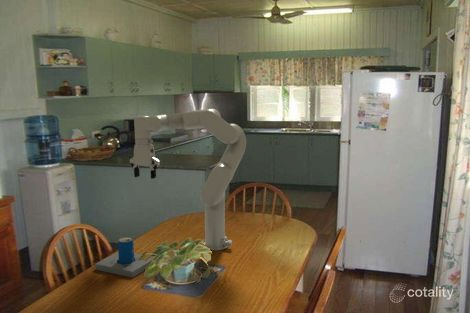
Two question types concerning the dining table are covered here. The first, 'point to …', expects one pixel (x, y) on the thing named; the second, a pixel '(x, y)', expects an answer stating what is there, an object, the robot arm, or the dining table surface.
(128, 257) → the beverage can
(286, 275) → the dining table surface
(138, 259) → the socket board
